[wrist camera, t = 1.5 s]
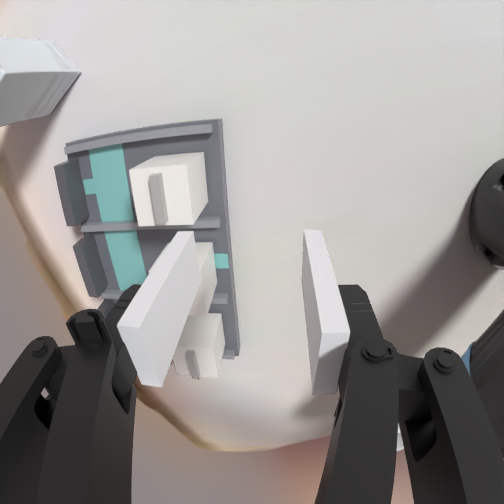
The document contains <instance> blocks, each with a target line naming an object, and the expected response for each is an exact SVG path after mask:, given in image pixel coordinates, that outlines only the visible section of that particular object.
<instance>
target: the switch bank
mask: <svg viewBox="0 0 504 504" xmlns="http://www.w3.org/2000/svg"><path fill="white" fill-rule="evenodd" d="M64 150H65V154H67V156H68V161H66V162H63V163H61V164H59V165H56V166H54V169H55V175H56V180H57V185H58V190H59V194H60V199H61V203H62V208H63V212H64V216H65V220H66V224H67V226H77V225H78V224H79V223H80V222H81V226H80V228H81V232H84V237H83V238H82V239H81V240H79V241H78V242H77V243H76V244H75V245H74V246H73V249H74V252H75V255H76V259H77V262H78V265H79V268H80V271H81V274H82V277H83V280H84V283H85V286H86V289H87V291H88V294H89V297H99V295H101V298H104V301H103V302H102V304H101V305H100V306H99V308H98V309H97V310H98V311H100V312H101V313H102V314H103V316H104V318H106V317H107V315H108V314H109V312H110V311H111V309H112V308H114V307H113V306H114V305H115V303H116V302H117V301H118V299H119V298H120V296H121V295H122V293H123V292H124V291H125V290H126V289H128V288H129V287H130V286H132V285H133V284H140V285H142V284H143V282H144V281H145V279H146V278H147V276H148V275H149V272H148V271H149V270H150V268H151V267H152V265H153V264H154V262H155V261H156V259H157V258H158V257H159V255H160V254H161V252H162V251H163V249H164V248H165V246H166V245H167V244H168V243H170V242H171V241H172V239H173V238H174V236H175V235H176V233H177V232H178V231H194V238H195V242H213V250H214V259H215V268H216V276H217V285H216V288H215V292H214V295H213V298H212V301H211V305H210V308H209V311H208V313H220V314H221V315H222V323H223V330H224V337H225V347H224V352H223V357H222V359H234V357H235V356H239V351H240V338H239V328H238V318H237V307H236V296H235V285H234V274H233V262H232V251H231V238H230V226H229V213H228V200H227V187H226V173H225V159H224V144H223V128H222V119H210V120H199V121H189V122H180V123H171V124H164V125H156V126H149V127H143V128H137V129H131V130H125V131H119V132H114V133H109V134H104V135H99V136H94V137H90V138H85V139H81V140H76V141H73V142H70V143H66V147H64ZM196 152H204V160H205V171H206V182H207V193H208V203H207V204H206V206H205V207H204V209H203V210H202V212H201V213H200V215H199V217H198V218H197V220H196V221H195V223H194V224H193V225H163V226H139V225H138V220H137V215H136V210H135V204H134V198H133V192H132V186H131V180H130V173H129V170H130V169H132V168H134V167H136V166H137V165H139V164H141V163H143V162H145V161H147V160H149V159H151V158H153V157H155V156H163V155H173V154H184V153H196Z"/></svg>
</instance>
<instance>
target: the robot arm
mask: <svg viewBox="0 0 504 504" xmlns="http://www.w3.org/2000/svg"><path fill="white" fill-rule="evenodd" d="M469 228H470V236H471V240H472V243H473V245H474V248H475V249H476V251H477V252H478V253H479V254H480V256H481V257H483V258H484V259H485V260H486V261H487V262H488V263H489V264H490V265H492V266H494V267H496V268H499V269H501V270H504V158H503V159H501V160H499V161H498V162H496V163H495V164H494V165H493V166H492V167H491V168H490V169H489V170H488V171H487V172H486V173H485V175H484V176H483V178H482V179H481V181H480V183H479V185H478V187H477V189H476V192H475V195H474V198H473V201H472V205H471V210H470V219H469ZM200 283H201V279H200V273H199V266H198V259H197V252H196V245H195V238H194V231H178V232H177V233H176V235H175V236H174V238H173V239H172V241H171V242H170V244H169V245H168V246H167V248H166V249H165V251H164V252H163V254H162V255H161V257H160V258H159V260H158V261H157V263H156V264H155V266H154V267H153V269H152V270H151V272H150V273H149V275H148V276H147V278H146V279H145V281H144V282H143V284H142V285H140V284H133V285H132V286H130V287H129V288H128V289H126V290H125V291H124V292H123V293H122V295H121V296H120V298H119V299H118V301H117V302H116V303H115V305H114V306H113V307H114V308H112V309H111V311H110V312H109V314H108V315H107V317H106V318H104V316H103V314H102V313H101V312H100V311H98V310H96V309H86V310H82V311H80V312H77V313H75V314H74V315H73V316H71V317H70V318H69V319H68V321H67V322H66V325H67V327H68V329H69V331H70V333H71V336H72V338H73V340H74V342H75V345H72V346H64V347H63V346H62V347H58V346H57V344H56V342H55V340H54V339H53V338H52V337H49V336H42V337H39V338H36V339H35V340H33V341H31V342H30V344H29V345H28V346H27V347H26V348H25V349H24V351H23V352H22V354H21V355H20V356H19V358H18V359H17V361H16V362H15V364H14V365H13V366H12V368H11V369H10V370H9V372H8V373H7V375H6V376H5V378H4V379H3V381H2V382H1V384H0V504H131V476H132V449H133V431H134V417H135V405H136V394H137V393H136V388H135V386H134V384H133V383H134V380H135V378H136V376H137V375H138V377H139V379H140V382H141V384H142V385H148V386H155V387H162V386H163V383H164V380H165V378H166V375H167V372H168V369H169V366H170V364H171V361H172V358H173V355H174V352H175V350H176V347H177V344H178V341H179V339H180V336H181V333H182V331H183V328H184V325H185V322H186V320H187V317H188V314H189V312H190V309H191V306H192V304H193V301H194V299H195V296H196V293H197V291H198V288H199V286H200ZM302 289H303V298H304V307H305V317H306V326H307V337H308V347H309V358H310V370H311V382H312V395H318V394H336V391H337V387H338V386H339V392H340V398H339V401H338V405H337V408H336V411H335V414H334V417H335V421H334V426H333V431H332V436H331V441H330V445H329V449H328V454H327V458H326V462H325V467H324V471H323V474H322V478H321V482H320V486H319V490H318V494H317V497H316V500H315V504H391V498H392V491H393V482H394V473H395V464H396V452H397V437H398V423H399V428H400V432H401V436H402V441H403V445H404V450H405V455H406V459H407V464H408V470H409V475H410V480H411V487H412V492H413V499H414V504H504V310H503V311H502V312H501V313H500V315H499V316H498V317H497V318H496V319H495V320H494V322H493V323H492V324H491V325H490V326H489V327H488V329H487V330H486V331H485V332H484V333H483V334H482V335H481V336H480V337H479V338H478V340H477V341H475V342H472V343H471V344H470V346H469V347H468V350H467V351H466V352H465V353H464V354H463V355H462V356H461V358H460V356H459V355H458V354H457V353H455V352H454V351H452V350H450V349H447V348H438V347H437V348H434V349H431V350H429V351H428V352H427V353H426V354H425V357H424V358H417V357H411V356H406V355H402V354H399V353H397V351H396V348H395V347H394V346H393V345H392V344H391V343H390V342H388V341H386V340H385V339H383V336H382V333H381V330H380V327H379V325H378V322H377V319H376V317H375V314H374V311H373V309H372V306H371V304H370V301H369V299H368V296H367V293H366V292H365V291H364V290H363V289H362V288H361V287H360V286H359V285H337V281H336V278H335V274H334V271H333V268H332V264H331V261H330V258H329V254H328V251H327V248H326V245H325V242H324V238H323V235H322V232H321V230H304V236H303V264H302ZM43 388H45V389H46V390H47V392H48V393H49V395H48V396H47V397H46V398H44V397H43V396H42V395H41V392H42V390H43Z"/></svg>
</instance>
